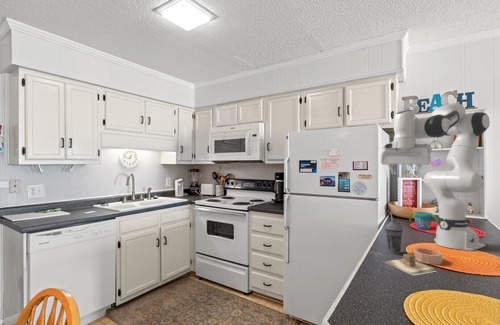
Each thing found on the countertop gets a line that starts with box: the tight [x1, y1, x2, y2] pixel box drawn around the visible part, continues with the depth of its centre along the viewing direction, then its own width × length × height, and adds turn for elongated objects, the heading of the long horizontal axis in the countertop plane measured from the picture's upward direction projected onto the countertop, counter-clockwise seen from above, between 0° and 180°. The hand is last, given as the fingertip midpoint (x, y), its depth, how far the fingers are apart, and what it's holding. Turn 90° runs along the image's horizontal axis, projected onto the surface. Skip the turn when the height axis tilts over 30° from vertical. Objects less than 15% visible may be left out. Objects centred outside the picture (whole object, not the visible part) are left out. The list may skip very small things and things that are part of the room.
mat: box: [384, 261, 438, 276], centre depth 106 cm, size 12×14×1 cm
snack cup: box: [409, 211, 439, 231], centre depth 169 cm, size 16×10×10 cm
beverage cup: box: [385, 211, 404, 255], centre depth 123 cm, size 7×7×20 cm
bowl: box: [413, 247, 443, 266], centre depth 113 cm, size 10×10×4 cm
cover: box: [385, 253, 435, 275], centre depth 106 cm, size 12×12×5 cm
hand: (404, 174), depth 119 cm, fingers open, 8 cm apart
